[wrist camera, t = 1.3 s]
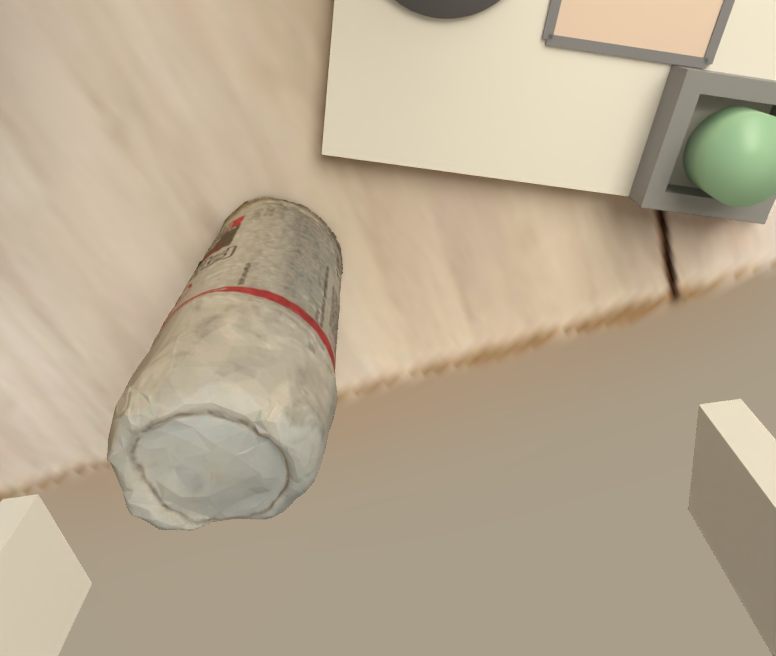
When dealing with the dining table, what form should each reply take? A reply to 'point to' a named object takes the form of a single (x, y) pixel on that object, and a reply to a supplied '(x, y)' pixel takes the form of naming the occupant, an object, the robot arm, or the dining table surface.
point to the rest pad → (447, 7)
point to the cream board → (551, 91)
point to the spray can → (236, 377)
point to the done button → (734, 156)
